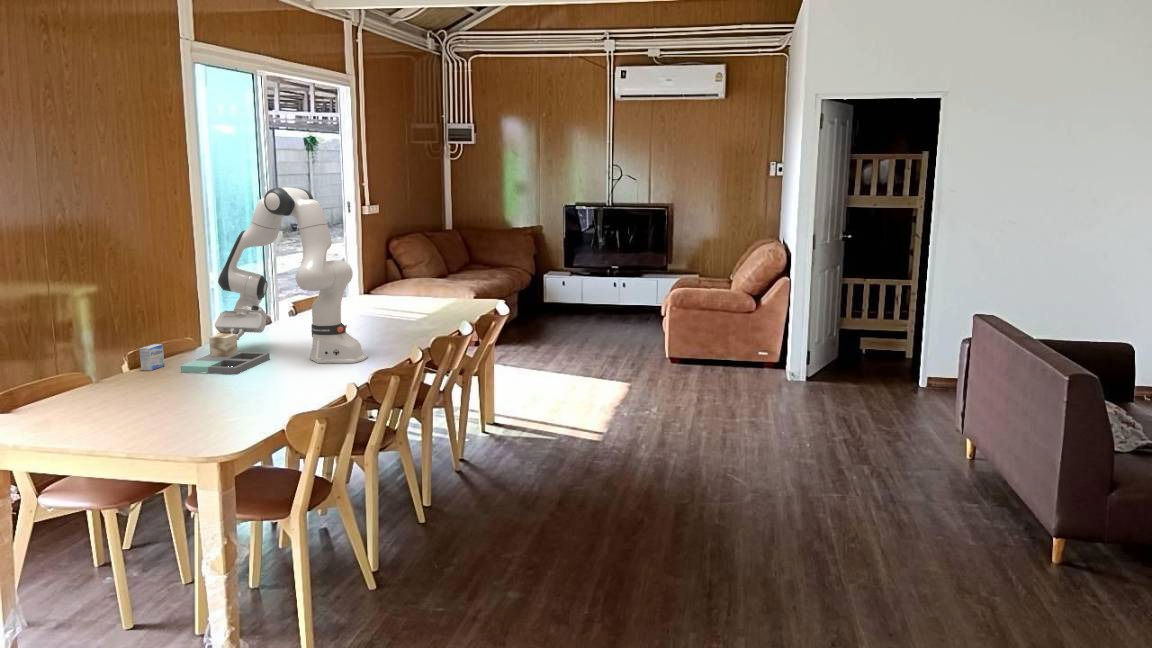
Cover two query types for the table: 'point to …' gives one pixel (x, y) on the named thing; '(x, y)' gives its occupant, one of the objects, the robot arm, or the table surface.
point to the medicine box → (152, 357)
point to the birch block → (223, 345)
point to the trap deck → (226, 363)
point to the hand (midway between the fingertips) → (234, 339)
